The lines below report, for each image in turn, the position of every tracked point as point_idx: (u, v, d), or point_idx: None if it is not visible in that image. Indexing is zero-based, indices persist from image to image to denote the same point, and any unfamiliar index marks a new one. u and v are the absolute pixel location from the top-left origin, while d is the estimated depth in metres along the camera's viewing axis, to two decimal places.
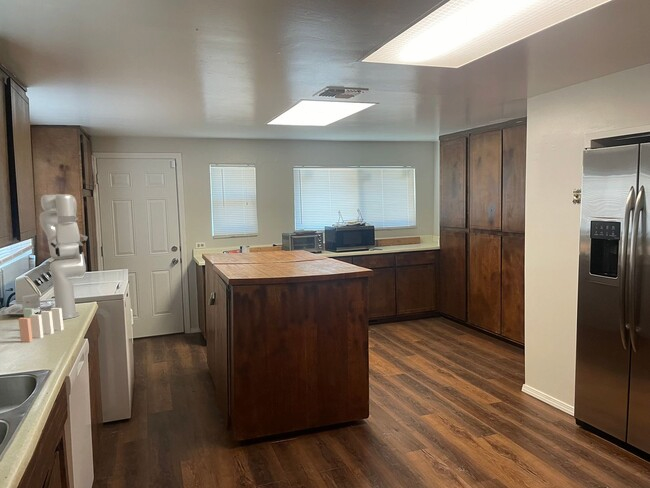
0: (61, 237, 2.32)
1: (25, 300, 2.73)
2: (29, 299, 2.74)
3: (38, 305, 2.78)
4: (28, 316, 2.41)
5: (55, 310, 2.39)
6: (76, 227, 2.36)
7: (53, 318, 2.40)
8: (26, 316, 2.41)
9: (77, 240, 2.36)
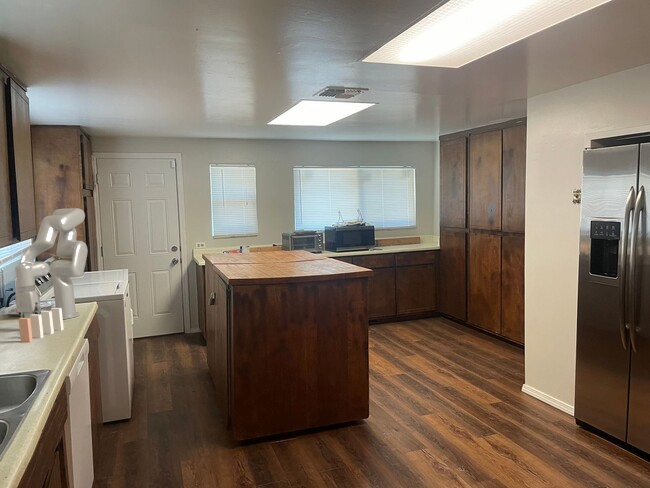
0: None
1: None
2: None
3: None
4: (28, 316, 2.41)
5: (55, 310, 2.39)
6: None
7: (53, 318, 2.40)
8: (26, 316, 2.41)
9: None
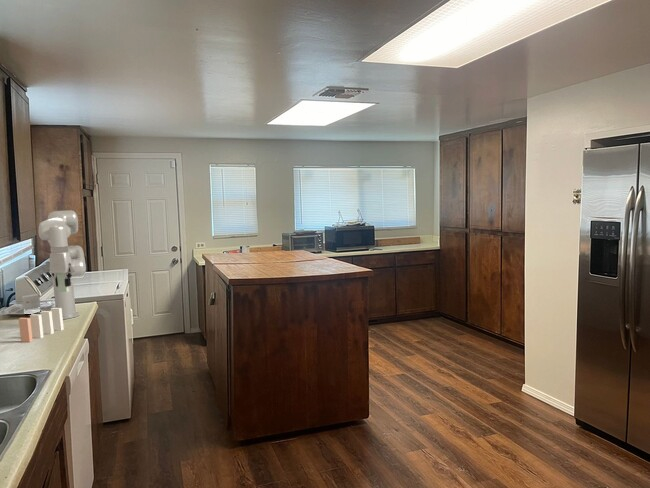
0: None
1: (25, 300, 2.73)
2: (29, 299, 2.74)
3: (38, 305, 2.78)
4: (61, 277, 2.43)
5: (55, 310, 2.39)
6: None
7: (53, 318, 2.40)
8: (59, 277, 2.43)
9: None
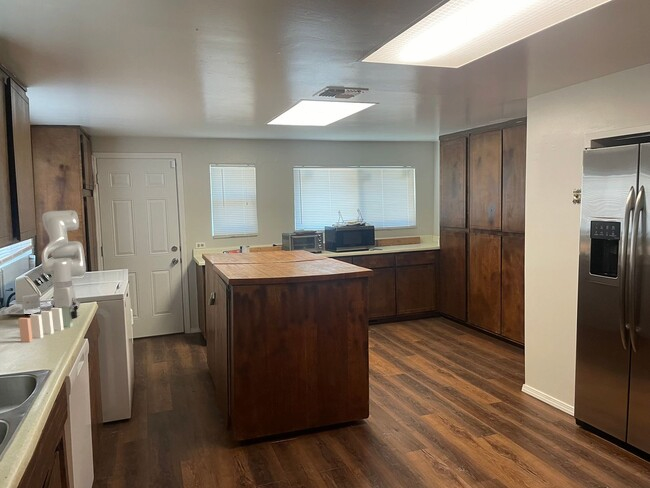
0: None
1: (25, 300, 2.73)
2: (29, 299, 2.74)
3: (38, 305, 2.78)
4: (65, 312, 2.45)
5: (55, 310, 2.39)
6: None
7: (53, 318, 2.40)
8: (63, 312, 2.45)
9: None
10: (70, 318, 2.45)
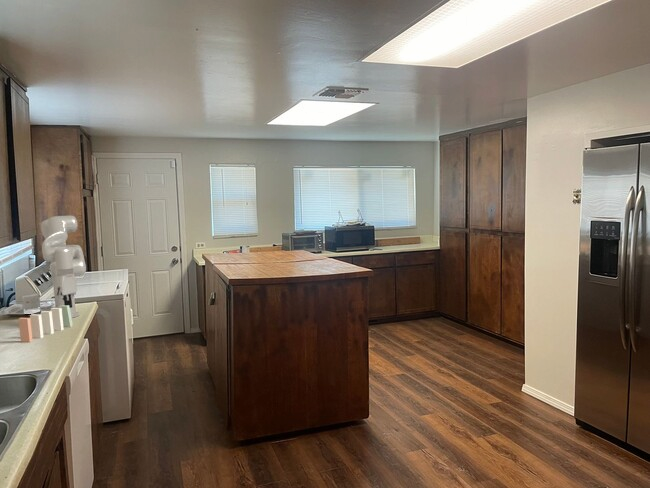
0: (65, 289, 2.43)
1: (25, 300, 2.73)
2: (29, 299, 2.74)
3: (38, 305, 2.78)
4: (64, 313, 2.44)
5: (55, 310, 2.39)
6: (74, 278, 2.49)
7: (53, 318, 2.40)
8: (62, 313, 2.45)
9: (75, 290, 2.49)
10: (69, 318, 2.45)
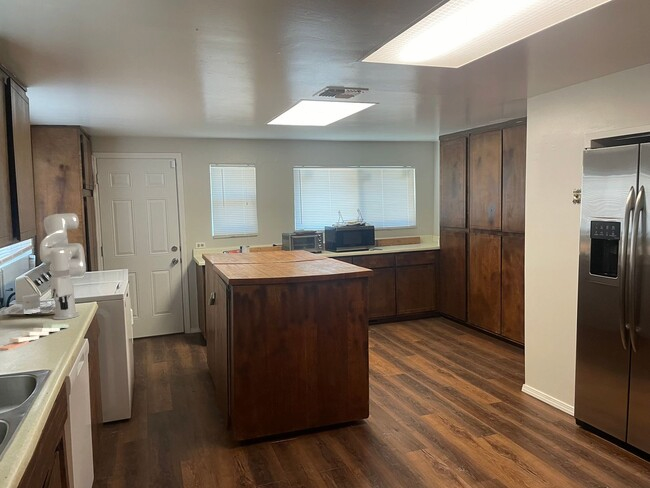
0: (61, 290, 2.40)
1: (25, 300, 2.73)
2: (29, 299, 2.74)
3: (38, 305, 2.78)
4: None
5: (39, 331, 2.29)
6: (70, 279, 2.46)
7: None
8: None
9: (71, 292, 2.47)
10: (62, 326, 2.40)
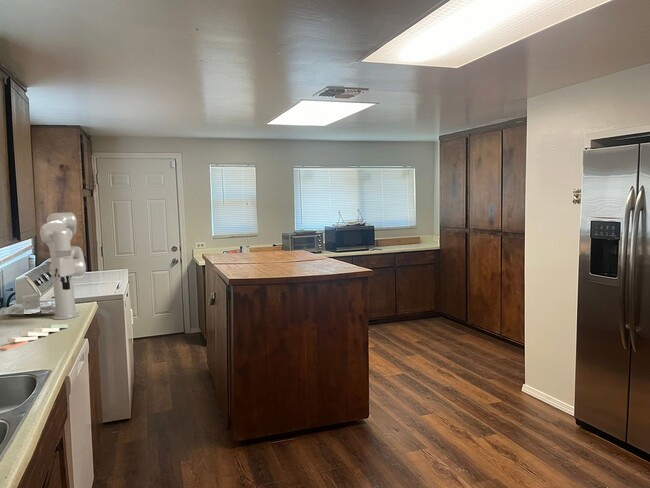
0: (63, 270, 2.42)
1: (25, 300, 2.73)
2: (29, 299, 2.74)
3: (38, 305, 2.78)
4: None
5: (39, 331, 2.29)
6: (72, 260, 2.48)
7: None
8: None
9: (73, 272, 2.49)
10: (61, 326, 2.40)
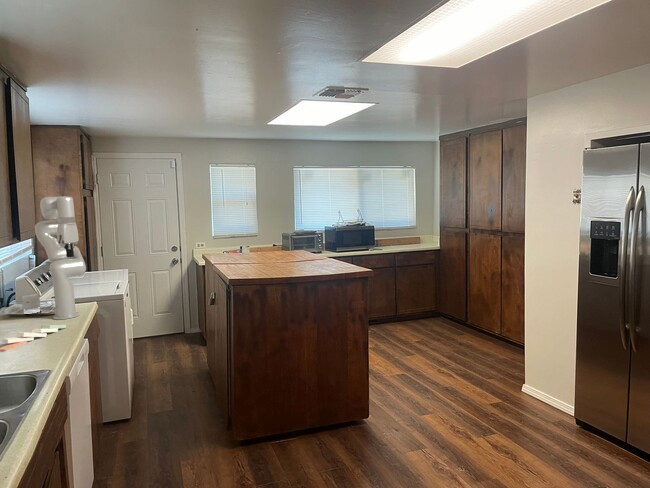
0: (67, 237, 2.43)
1: (25, 300, 2.73)
2: (29, 299, 2.74)
3: (38, 305, 2.78)
4: None
5: None
6: (76, 227, 2.49)
7: None
8: None
9: (77, 240, 2.50)
10: (59, 327, 2.40)
